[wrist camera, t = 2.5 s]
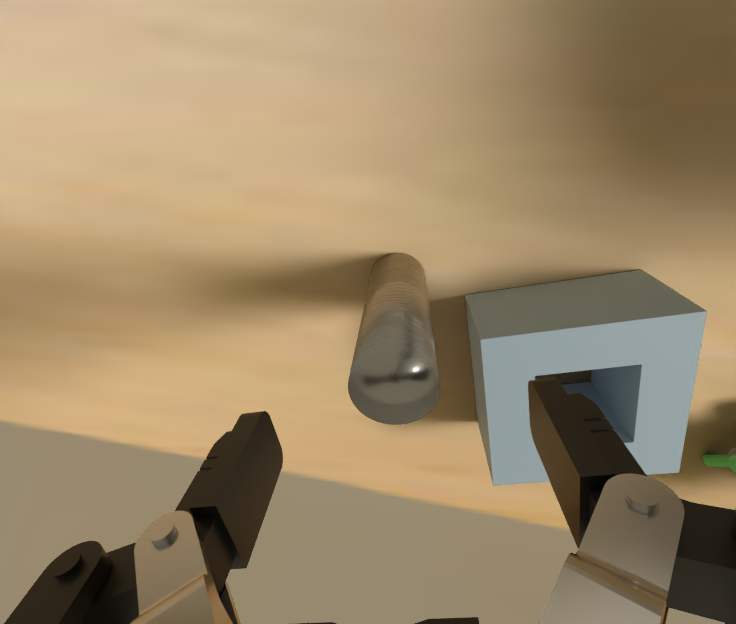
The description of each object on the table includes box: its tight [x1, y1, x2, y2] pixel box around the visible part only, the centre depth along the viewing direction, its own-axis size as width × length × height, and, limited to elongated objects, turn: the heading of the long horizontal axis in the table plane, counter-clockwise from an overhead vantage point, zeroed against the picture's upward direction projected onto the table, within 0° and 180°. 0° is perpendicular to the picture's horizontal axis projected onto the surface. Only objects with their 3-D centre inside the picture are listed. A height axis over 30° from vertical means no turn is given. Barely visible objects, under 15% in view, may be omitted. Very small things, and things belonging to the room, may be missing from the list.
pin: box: [348, 253, 440, 425], centre depth 18 cm, size 3×3×10 cm
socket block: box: [465, 270, 707, 486], centre depth 21 cm, size 9×9×5 cm
